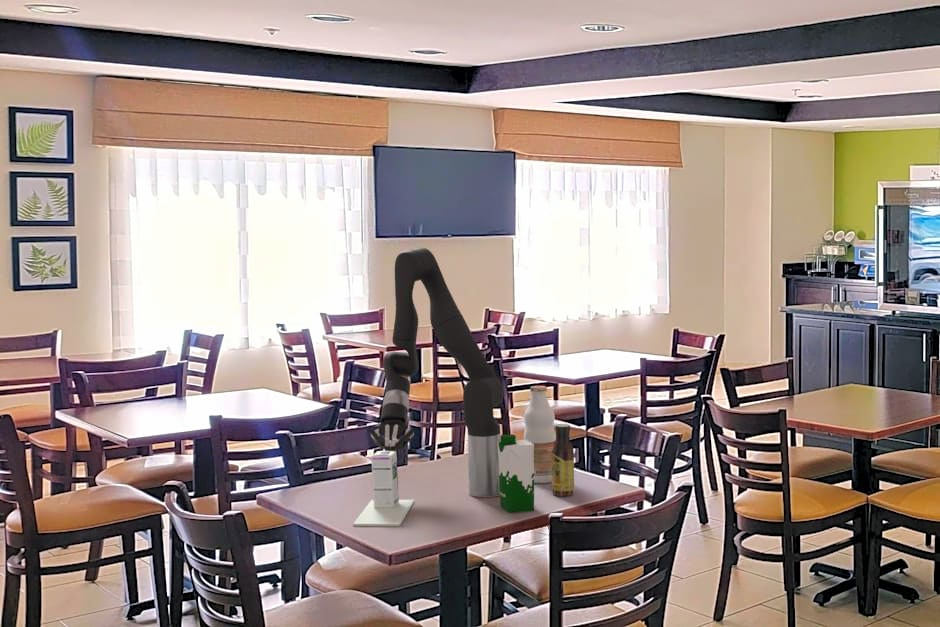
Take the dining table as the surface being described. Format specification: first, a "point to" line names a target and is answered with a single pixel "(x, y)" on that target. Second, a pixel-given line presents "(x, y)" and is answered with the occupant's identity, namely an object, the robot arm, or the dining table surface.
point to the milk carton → (516, 474)
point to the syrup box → (385, 479)
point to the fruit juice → (540, 433)
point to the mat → (384, 514)
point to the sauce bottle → (562, 462)
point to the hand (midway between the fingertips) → (389, 460)
